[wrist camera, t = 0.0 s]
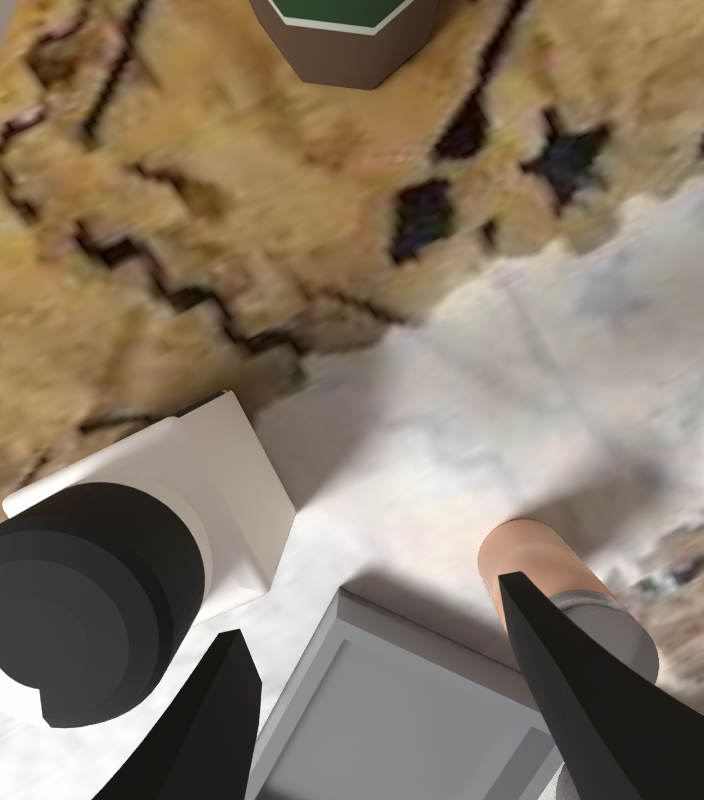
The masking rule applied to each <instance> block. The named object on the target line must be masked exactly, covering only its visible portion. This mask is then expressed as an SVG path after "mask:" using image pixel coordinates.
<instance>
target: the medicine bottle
mask: <svg viewBox="0 0 704 800" xmlns="http://www.w3.org/2000/svg"><path fill="white" fill-rule="evenodd" d="M3 508H4V511H5V512H6V514H7V515H8V517H9V518H10V519H8V520H6V521H4V522H2V523H1V524H0V710H1V711H3V712H4V713H6V714H8V715H10V716H12V717H15V718H17V719H19V720H22V721H25V722H28V723H32V724H35V725H40V726H45V727H52V728H75V727H83V726H88V725H93V724H97V723H101V722H105V721H108V720H111V719H114V718H116V717H119V716H121V715H123V714H124V713H126V712H128V711H130V710H132V709H133V708H134V707H136V706H137V705H139V704H140V703H141V702H142V701H143V700H144V699H146V698H147V697H148V696H149V695H150V694H151V693H152V691H153V690H154V689H155V687H156V686H157V685H158V683H159V682H160V680H161V679H162V677H163V675H164V673H165V672H166V670H167V668H168V666H169V664H170V663H171V661H172V659H173V657H174V656H175V654H176V652H177V650H178V648H179V647H180V645H181V643H182V641H183V640H184V638H185V636H186V634H187V633H188V631H189V629H190V628H191V627H193V626H196V625H198V624H200V623H202V622H205V621H207V620H209V619H211V618H214V617H216V616H218V615H221V614H223V613H225V612H227V611H230V610H232V609H234V608H237V607H239V606H241V605H243V604H246V603H248V602H250V601H252V600H255V599H257V598H259V597H262V596H264V595H265V594H266V593H267V592H268V591H269V590H270V587H271V585H272V582H273V579H274V576H275V573H276V570H277V567H278V565H279V562H280V559H281V556H282V553H283V550H284V547H285V544H286V542H287V539H288V536H289V533H290V530H291V527H292V524H293V522H294V519H295V516H296V511H295V508H294V506H293V504H292V502H291V500H290V498H289V497H288V495H287V493H286V491H285V489H284V487H283V485H282V483H281V481H280V479H279V478H278V476H277V474H276V472H275V470H274V468H273V466H272V464H271V462H270V461H269V459H268V457H267V455H266V453H265V451H264V449H263V447H262V445H261V443H260V442H259V440H258V438H257V436H256V434H255V432H254V430H253V428H252V426H251V424H250V423H249V421H248V419H247V417H246V415H245V413H244V411H243V409H242V407H241V406H240V404H239V402H238V400H237V398H236V396H235V394H234V393H233V392H232V391H231V390H228V389H225V390H222V391H220V392H218V393H216V394H214V395H212V396H210V397H208V398H206V399H204V400H202V401H200V402H197V403H195V404H193V405H191V406H189V407H187V408H185V409H183V410H181V411H179V412H177V413H175V414H173V415H171V416H169V417H167V418H165V419H163V420H161V421H159V422H157V423H155V424H153V425H150V426H148V427H146V428H144V429H142V430H140V431H138V432H136V433H134V434H132V435H130V436H128V437H126V438H124V439H122V440H120V441H118V442H116V443H114V444H112V445H110V446H108V447H106V448H104V449H101V450H99V451H97V452H95V453H93V454H91V455H89V456H87V457H85V458H83V459H81V460H79V461H77V462H75V463H73V464H71V465H69V466H67V467H65V468H63V469H61V470H59V471H57V472H55V473H53V474H51V475H49V476H47V477H45V478H42V479H40V480H38V481H36V482H34V483H32V484H30V485H28V486H26V487H24V488H22V489H20V490H18V491H16V492H14V493H12V494H10V495H9V496H8V497H7V498H6V499H5V500H4V501H3Z"/></svg>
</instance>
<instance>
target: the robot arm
mask: <svg viewBox="0 0 704 800" xmlns="http://www.w3.org/2000/svg"><path fill="white" fill-rule="evenodd" d="M498 581H499V587H500V592H501V598H502V604H503V610H504V616H505V621H506V627H507V633H508V636H509V639H510V642H511V645H512V647H513V650H514V653H515V656H516V659H517V661H518V664H519V667H520V669H521V672H522V674H523V677H524V679H525V681H526V683H527V685H528V687H529V689H530V691H531V693H532V696H533V698H534V700H535V702H536V704H537V706H538V708H539V710H540V712H541V714H542V716H543V718H544V721H545V723H546V725H547V727H548V729H549V731H550V733H551V735H552V737H553V739H554V741H555V743H556V745H557V748H558V750H559V752H560V754H561V756H562V758H563V760H564V762H565V764H566V766H567V769H568V771H569V773H570V776H571V778H572V780H573V782H574V785H575V787H576V790H577V792H578V795H579V797H580V800H704V716H703V715H701V714H700V713H698V712H696V711H695V710H693V709H691V708H690V707H688V706H686V705H685V704H683V703H681V702H680V701H678V700H676V699H675V698H673V697H672V696H670V695H669V694H667V693H666V692H664V691H663V690H661V689H660V688H658V687H657V686H655V685H654V684H652V683H651V682H649V681H648V680H646V679H645V678H644V677H642V676H641V675H639V674H638V673H636V672H635V671H634V670H632V669H631V668H630V667H628V666H627V665H626V664H624V663H623V662H622V661H620V660H619V659H618V658H616V657H615V656H614V655H612V654H611V653H610V652H609V651H607V650H606V649H605V648H604V647H602V646H601V645H600V644H599V643H597V642H596V641H595V640H594V639H593V638H591V637H590V636H589V635H588V634H587V633H586V632H584V631H583V630H582V629H581V628H580V627H579V626H578V625H576V624H575V623H574V622H573V621H572V620H571V619H570V618H569V617H568V616H566V615H565V614H564V613H563V612H562V611H561V610H560V609H559V608H558V607H557V606H556V605H555V604H554V603H553V602H552V601H551V600H550V599H549V598H547V597H546V596H545V595H544V594H543V592H542V591H541V590H540V589H539V588H538V587H537V586H536V585H535V584H534V583H533V582H532V581H531V580H530V579H529V578H528V577H527V575H526V574H525V573H523V572H521V571H517V572H512V573H507V574H502V575H498ZM261 691H262V682H261V679H260V677H259V674H258V672H257V669H256V667H255V664H254V662H253V659H252V657H251V655H250V652H249V650H248V647H247V645H246V642H245V640H244V637H243V635H242V632H241V630H240V629H236V630H232V631H227V632H222V633H219V634H218V635H217V637H216V638H215V640H214V641H213V643H212V644H211V646H210V647H209V648H208V650H207V651H206V653H205V654H204V656H203V657H202V659H201V660H200V662H199V663H198V665H197V666H196V668H195V669H194V671H193V672H192V674H191V675H190V676H189V678H188V679H187V681H186V682H185V684H184V685H183V687H182V688H181V689H180V691H179V692H178V694H177V695H176V697H175V698H174V699H173V701H172V702H171V704H170V705H169V707H168V708H167V709H166V711H165V712H164V713H163V715H162V716H161V717H160V718H159V720H158V721H157V722H156V724H155V725H154V726H153V728H152V729H151V730H150V732H149V733H148V734H147V736H146V737H145V738H144V740H143V741H142V742H141V743H140V745H139V746H138V747H137V748H136V750H135V751H134V752H133V753H132V755H131V756H130V757H129V758H128V759H127V761H126V762H125V763H124V764H123V765H122V766H121V768H120V769H119V770H118V771H117V772H116V773H115V774H114V776H113V777H112V778H111V779H110V780H109V781H108V783H107V784H106V785H105V786H104V787H103V788H102V789H101V790H100V791H99V792H98V793H97V794H96V795H95V797H94V798H93V799H92V800H244V799H245V794H246V789H247V784H248V779H249V774H250V769H251V763H252V758H253V753H254V748H255V742H256V737H257V732H258V726H259V717H260V706H261Z"/></svg>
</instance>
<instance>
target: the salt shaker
mask: <svg viewBox="0 0 704 800" xmlns="http://www.w3.org/2000/svg"><path fill="white" fill-rule="evenodd" d="M478 569H479V573H480V576H481V578H482V580H483V583H484V585H485V587H486V589H487V591H488V593H489V596H490V598H491V600H492V602H493V604H494V607H495V609H496V611H497V613H498V615H499V617H500V620H501V622H502V624H503V626H504V628H505V631H506V633H507V627H506V621H505V616H504V610H503V604H502V598H501V592H500V587H499V581H498V575H502V574H507V573H512V572H517V571H521V572H523V573H525V574H526V575H527V577H528V578H529V579H530V580H531V581H532V582H533V583H534V584H535V585H536V586H537V587H538V588H539V589H540V590H541V591H542V592H543V594H544V595H545V596H546V597H547V598H549V599H550V600H551V601H552V602H553V603H554V604H555V605H556V606H557V607H558V608H559V609H560V610H561V611H562V612H563V613H564V614H565V615H566V616H568V617H569V618H570V619H571V620H572V621H573V622H574V623H575V624H576V625H578V626H579V627H580V628H581V629H582V630H583V631H584V632H586V633H587V634H588V635H589V636H590V637H591V638H593V639H594V640H595V641H596V642H597V643H599V644H600V645H601V646H602V647H604V648H605V649H606V650H607V651H609V652H610V653H611V654H612V655H614V656H615V657H616V658H618V659H619V660H620V661H622V662H623V663H624V664H626V665H627V666H628V667H630V668H631V669H632V670H634V671H635V672H636V673H638V674H639V675H641V676H642V677H644V678H645V679H646V680H648V681H649V682H651V683H652V684H654V685H655V683H656V680H657V676H658V670H659V658H658V652H657V649H656V646H655V644H654V642H653V640H652V638H651V637H650V636H649V634H648V633H647V632H646V630H645V629H644V628H643V627H642V626H641V625H640V624H639V623H638V622H637V621H636V619H635V618H634V617H633V616H632V615H631V614H630V613H629V612H628V611H627V610H626V609H625V607H624V606H623V605H622V604H621V603H620V602H619V601H618V600H617V599H616V598H615V596H614V595H613V594H612V593H611V592H610V591H609V590H608V589H607V588H606V587H605V585H604V584H603V583H602V582H601V581H600V580H599V579H598V578H597V577H596V576H595V574H594V573H593V572H592V571H591V570H590V569H589V568H588V567H587V566H586V565H585V563H584V562H583V561H582V560H581V559H580V558H579V557H578V556H577V555H576V554H575V552H574V551H573V550H572V549H571V548H570V547H569V546H568V545H567V544H566V543H565V541H564V540H563V539H562V538H561V537H560V536H559V535H558V534H557V533H556V532H555V531H554V530H553V529H552V528H551V527H549V526H548V525H546V524H544V523H542V522H539V521H536V520H531V519H517V520H512V521H509V522H506V523H504V524H502V525H500V526H498V527H497V528H495V529H494V530H493V531H492V532H490V534H489V535H488V536H487V537H486V538H485V540H484V541H483V543H482V545H481V547H480V550H479V554H478ZM507 635H508V633H507ZM508 637H509V636H508Z"/></svg>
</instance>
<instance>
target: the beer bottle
mask: <svg viewBox="0 0 704 800" xmlns="http://www.w3.org/2000/svg"><path fill="white" fill-rule="evenodd" d="M249 1H250V4H251V6H252V8H253V10H254V12H255V15H256V17H257V19H258V21H259V23H260V24H261V26H262V27H263V28H264V30H265V31H266V32H267V34H268V35H269V37H270V38H271V39H272V41H273V42H274V43H275V45H276V46H277V48H278V49H279V50H280V52H281V53H282V54H283V56H284V57H285V58H286V60H287V61H288V63H289V64H290V65H291V67H292V68H293V69H294V71H295V72H296V74H297V75H298V76H299V78H300V79H301V80H302V82H307V83H315V84H323V85H331V86H339V87H347V88H355V89H363V90H372V89H373V88H374V87H376V86H377V85H378V84H379V83H380V82H381V81H383V80H384V79H385V78H386V77H387V76H388V75H390V74H391V73H392V72H393V71H394V70H395V69H397V68H398V67H399V66H400V65H401V64H402V63H403V62H405V61H406V60H407V59H408V58H409V57H410V56H412V55H413V54H414V53H415V52H416V51H417V50H419V49H420V48H421V47H422V46H423V45H424V44H426V43H427V40H428V37H429V34H430V31H431V28H432V25H433V22H434V19H435V15H436V11H437V7H438V3H439V0H249Z"/></svg>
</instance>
